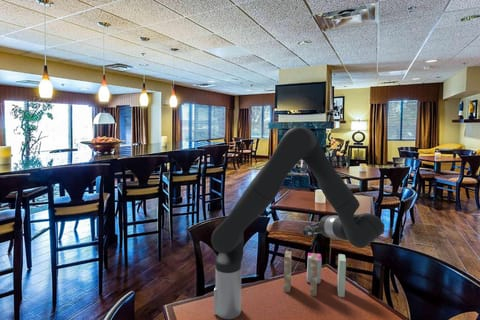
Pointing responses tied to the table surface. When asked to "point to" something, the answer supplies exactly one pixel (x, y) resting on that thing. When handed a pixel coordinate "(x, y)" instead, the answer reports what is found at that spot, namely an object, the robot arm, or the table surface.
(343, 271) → the tile
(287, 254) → the tan flat rectangular block
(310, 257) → the supplement box
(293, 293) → the table surface
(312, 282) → the tile
